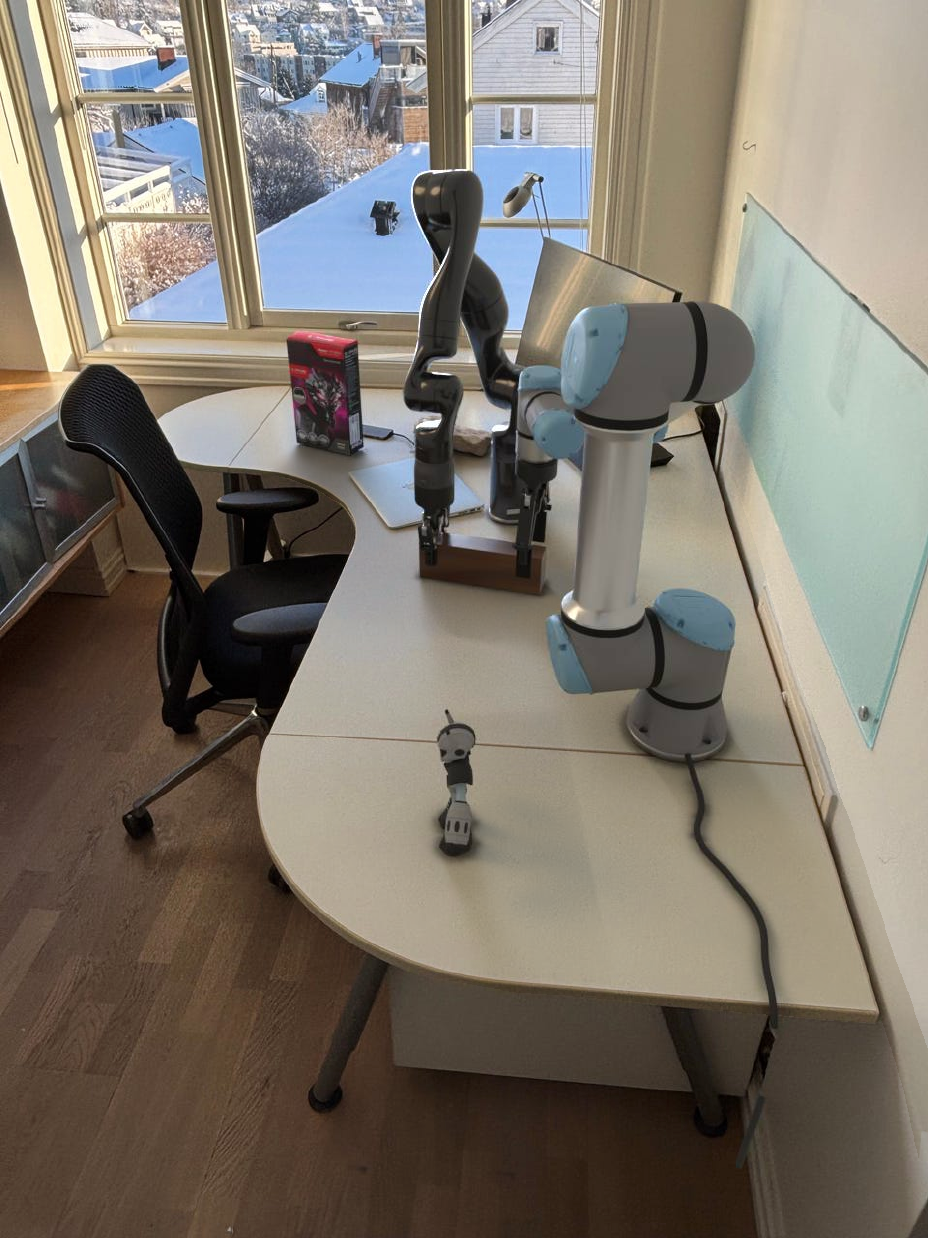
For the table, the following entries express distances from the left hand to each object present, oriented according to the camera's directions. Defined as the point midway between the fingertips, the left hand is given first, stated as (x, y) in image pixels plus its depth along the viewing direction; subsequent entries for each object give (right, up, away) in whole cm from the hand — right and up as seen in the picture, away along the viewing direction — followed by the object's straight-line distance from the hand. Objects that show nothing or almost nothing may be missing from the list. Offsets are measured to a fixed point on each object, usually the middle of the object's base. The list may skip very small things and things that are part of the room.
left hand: (435, 557), depth 180 cm
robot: (+5, -41, -55) cm, 69 cm away
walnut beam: (+9, -4, 0) cm, 10 cm away
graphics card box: (-28, +32, +53) cm, 68 cm away
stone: (+2, +32, +54) cm, 63 cm away
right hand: (+18, -1, -5) cm, 19 cm away
